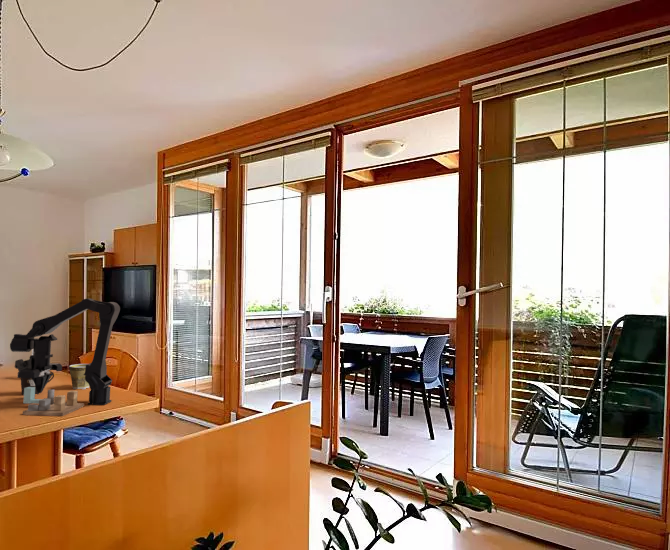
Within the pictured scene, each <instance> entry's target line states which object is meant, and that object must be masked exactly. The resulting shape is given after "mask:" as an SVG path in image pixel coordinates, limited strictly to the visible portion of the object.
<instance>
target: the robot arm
mask: <svg viewBox="0 0 670 550" xmlns="http://www.w3.org/2000/svg"><path fill="white" fill-rule="evenodd" d="M87 310H90V311H92V312H95V313H98V318H99V323H100V325H99V331H98V334H97V338H96V339H97V340H96V343H95V344H96V345H95V348H94V353H93V358H92V361H91V362H89V363H86V364H87V365H86V370H85V373H84V375H85V380H86V381H87V383H89V389H90V390H89V392H88V393H89V395H88V402H87V405H92V404H93V405H96V406H98V405H99V406H102V405H103V406H104V405H107V404H110V403H111V402H112V401H113V400H112V399H111V384H112V382H113V379H112V378H111V377H110V376H109V375H108V374H107V367H108V366H107V363H106V360H107V354H108V350H109V349H108V348H109V346H110V345H109V344H110V342H111V341H110V339H111V335H112V331H113V330H112V329H113V325H114V324H115V322H116V321H117V319H118V316H119V314H120V311H121V306H120V305H119V304H118V303H117V302H114V301H109V302H105V301H101V300H100V301H99V300H96V299H93V298H84V299H82V300H81V301H79V302H77V303H75V304H73V305H72V306H70V307H68V308H67V309H64V310H62V311H60V312H58V313H56V314H54V315H51V316H47V317H44V318H41V319H37V320H35V321H34V322H33V324H32V326H31V328H30V330H28V332H27V334H22V333H14V334H13V337H12V339H11V341H10V344H9V349H10V351H11V352H13V353H16V352H17V353H29V352H32V349H33V355H32V354H31V355H30V356H29V359H27V360H26V359H25V360H24V359H23V358H22V359H20V358H19V359H17V360H15V362H14V368H15V369H16V370H17V371H18V372H17V378H19V379H21V378H31V379H32V380H33V381H34V383H35V386H36V389H37V392H38V393H40V394H41V393H43V391H44V389H45V387H46V386H47V384H48V383H49V382H48V381H49V380H50V379H51V378H52V377H53V373H54V372H53V373H50V372H49V371H56V372H61V371H62V370H63V365H62V363H60V362H59V363H57V362H54V363H53V362H52V363H51V358H53V357H54V354H53V353H51V351H52V342H54V341H58V337H56V336H55V335H54V334H51V333H52V332H55V330H57V329H58V328H59V327H60V326H61V325H62V324H63V323H65V322H67V321H70V320H71V319H73V318H75V317H76V316H79V315H81V314H82V313H84V312H86V311H87ZM36 337H39V338H36ZM47 382H48V383H47Z"/></svg>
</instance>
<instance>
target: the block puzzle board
mask: <svg viewBox="0 0 670 550" xmlns="http://www.w3.org/2000/svg"><path fill="white" fill-rule="evenodd" d="M78 392H79V390H69V391H67V392H66V395H64V394H63V395H60V394H59V395H55V389H53V388H51V389H50V388H49V389H47V395H46V396H47V397H46V398H42V400H39V404H33V403H30V404H29V403H28V404H27V409H26V410H23V411H22V415H23V416H51V417H64V416H66V415H69V414H70V413H73V412H75V411H77V410H80V409H82V408H84V407H85V403H83V402H78ZM83 406H84V407H83ZM81 407H82V408H81ZM79 408H80V409H79Z"/></svg>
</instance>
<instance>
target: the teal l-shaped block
mask: <svg viewBox="0 0 670 550" xmlns="http://www.w3.org/2000/svg"><path fill="white" fill-rule="evenodd" d="M35 397H36V395H35V387H27V388H24V395H23V401H22V402H23V404H28V405H29V404H35V405H39V400H42V399H43V398H42V399H41V398H35Z"/></svg>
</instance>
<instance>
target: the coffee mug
mask: <svg viewBox="0 0 670 550" xmlns="http://www.w3.org/2000/svg"><path fill="white" fill-rule="evenodd" d="M49 372H50V373H53V375H52V376H51V378H50V379H49V381H48V382H47V384H48V383H50V382H51V381H52V380H53V379H54V377H55V373H54V372H52V370H50V371H49ZM20 387H21V395H22V396H24V388H27V387H35V394H37V395H40V394H39V393H38V392H37V389H36V386H35V383H34V381H33V380H32V379H31V378H20Z"/></svg>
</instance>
